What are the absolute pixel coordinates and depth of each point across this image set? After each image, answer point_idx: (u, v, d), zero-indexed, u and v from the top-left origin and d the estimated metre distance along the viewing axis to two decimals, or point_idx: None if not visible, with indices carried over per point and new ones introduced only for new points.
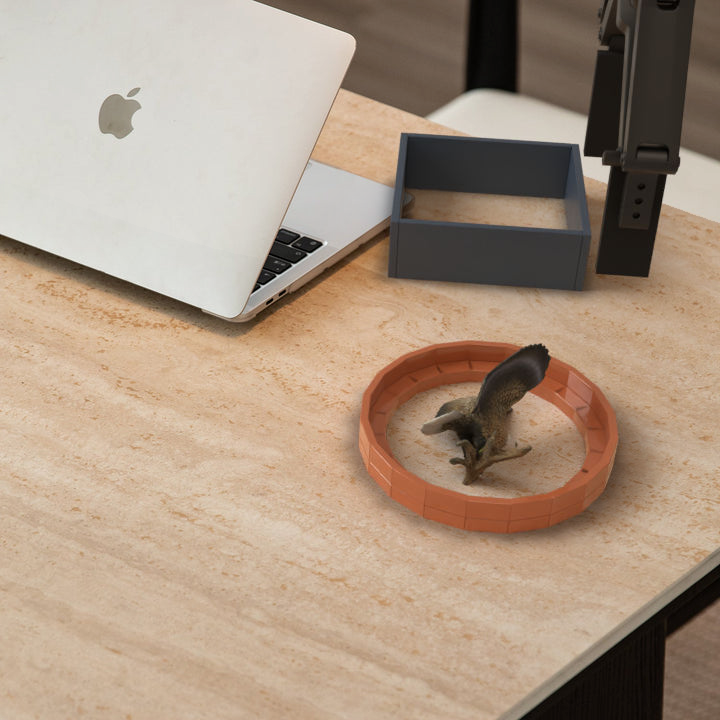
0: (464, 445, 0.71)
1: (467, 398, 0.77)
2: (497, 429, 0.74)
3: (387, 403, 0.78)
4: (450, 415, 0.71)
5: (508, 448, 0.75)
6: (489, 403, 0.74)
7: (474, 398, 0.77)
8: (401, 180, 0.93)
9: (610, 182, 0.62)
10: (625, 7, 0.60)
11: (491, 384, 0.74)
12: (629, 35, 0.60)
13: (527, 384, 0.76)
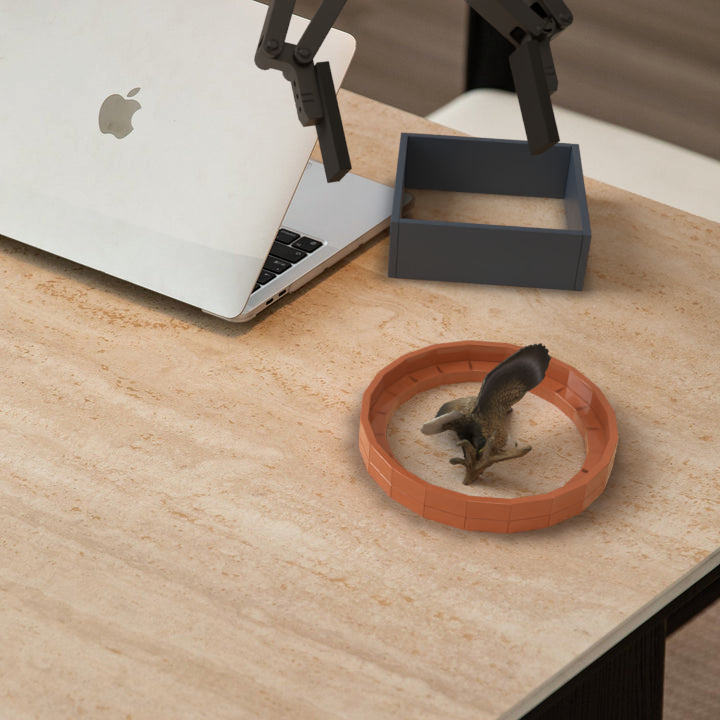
0: (464, 445, 0.71)
1: (467, 398, 0.77)
2: (497, 429, 0.74)
3: (387, 403, 0.78)
4: (450, 415, 0.71)
5: (508, 448, 0.75)
6: (489, 403, 0.74)
7: (474, 398, 0.77)
8: (401, 180, 0.93)
9: None
10: None
11: (491, 384, 0.74)
12: None
13: (527, 384, 0.76)
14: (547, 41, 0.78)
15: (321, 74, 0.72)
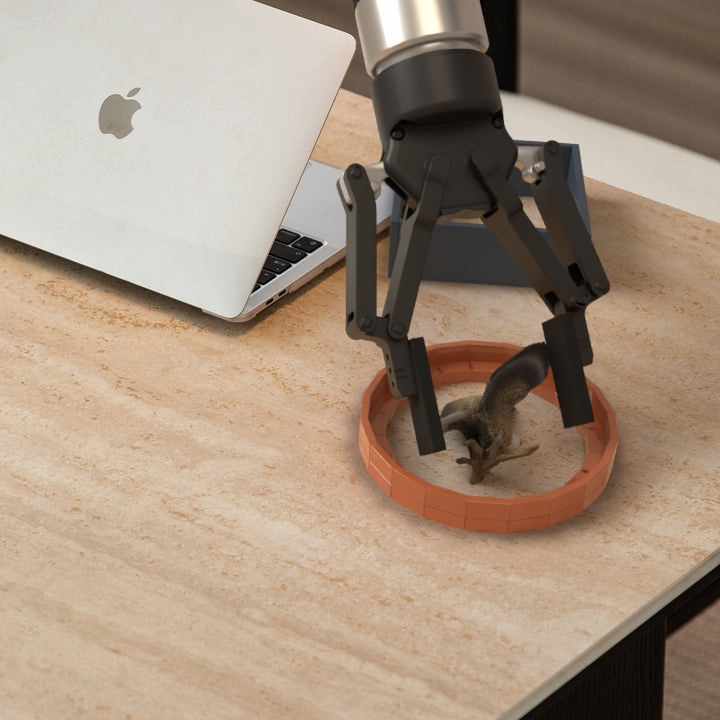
0: (471, 445, 0.71)
1: (471, 397, 0.77)
2: (502, 428, 0.74)
3: (387, 403, 0.78)
4: (456, 415, 0.71)
5: (513, 447, 0.75)
6: (494, 403, 0.74)
7: (477, 397, 0.77)
8: None
9: None
10: (403, 222, 0.74)
11: (496, 383, 0.74)
12: (400, 242, 0.73)
13: (531, 383, 0.76)
14: (582, 310, 0.74)
15: (415, 351, 0.70)
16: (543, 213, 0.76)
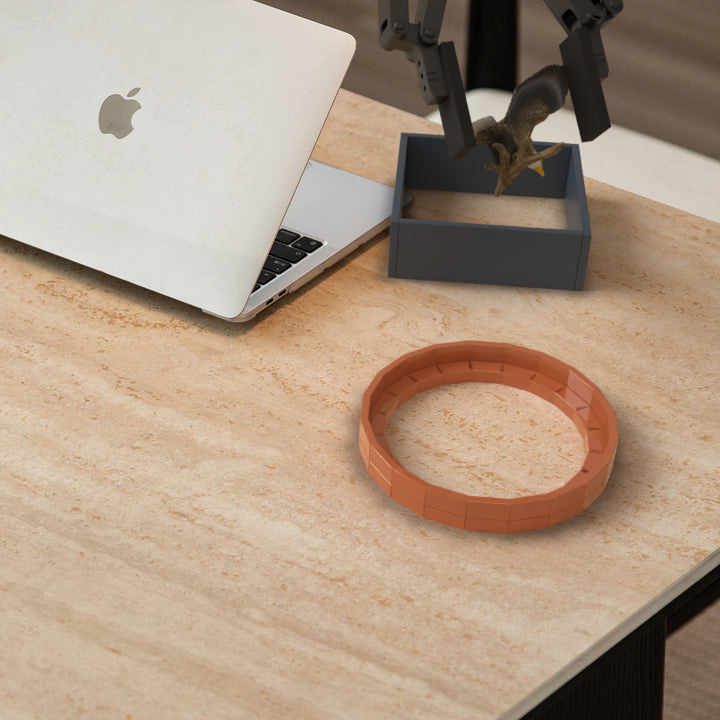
0: (499, 148, 0.75)
1: None
2: None
3: (387, 403, 0.78)
4: (486, 119, 0.75)
5: (535, 164, 0.79)
6: (517, 119, 0.78)
7: None
8: (401, 180, 0.93)
9: None
10: None
11: (519, 100, 0.78)
12: None
13: (550, 107, 0.80)
14: (598, 28, 0.78)
15: (446, 53, 0.74)
16: None
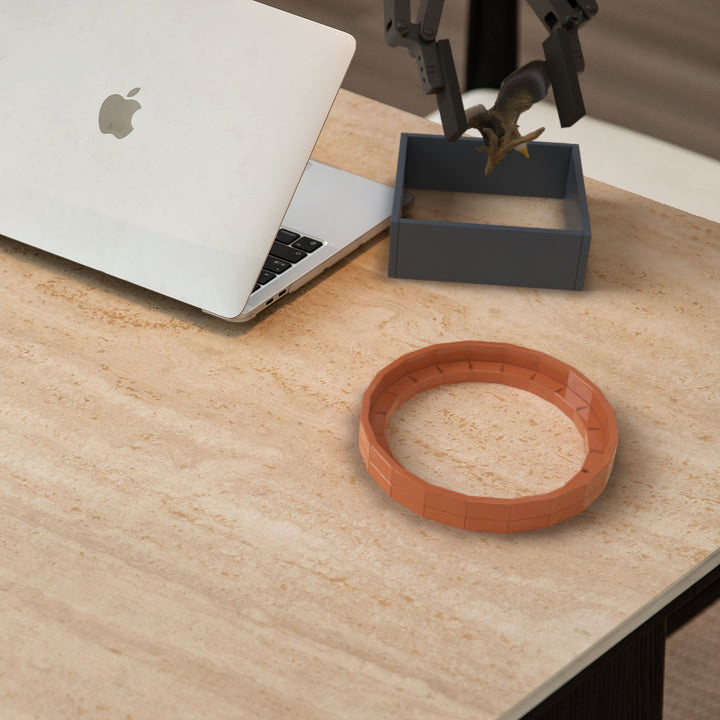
0: (488, 132, 0.87)
1: None
2: None
3: (387, 403, 0.78)
4: (477, 107, 0.87)
5: (521, 147, 0.91)
6: (505, 107, 0.90)
7: None
8: (401, 180, 0.93)
9: None
10: None
11: (507, 91, 0.90)
12: None
13: (534, 97, 0.92)
14: (575, 28, 0.89)
15: (442, 49, 0.85)
16: None
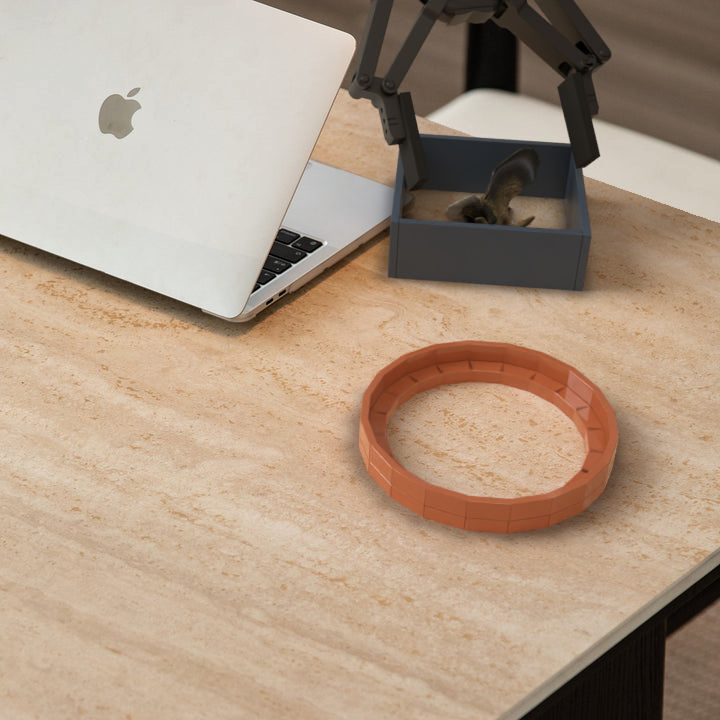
0: (481, 221, 0.91)
1: (476, 196, 0.97)
2: None
3: (387, 403, 0.78)
4: (469, 198, 0.91)
5: None
6: (496, 194, 0.94)
7: (482, 196, 0.97)
8: (401, 180, 0.93)
9: None
10: (416, 18, 0.92)
11: (497, 178, 0.94)
12: (409, 32, 0.92)
13: (523, 181, 0.96)
14: (590, 73, 0.93)
15: (404, 102, 0.88)
16: (544, 9, 0.94)
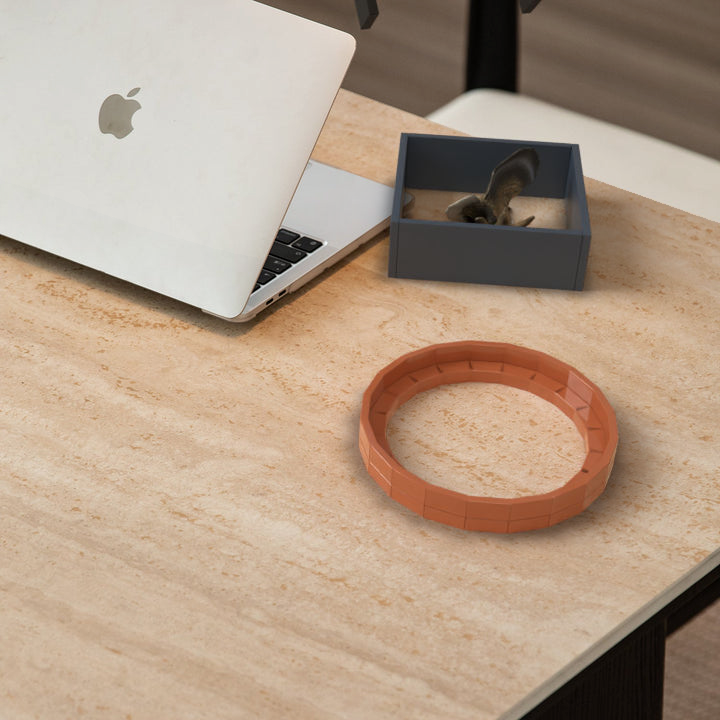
0: (481, 221, 0.91)
1: (476, 196, 0.97)
2: None
3: (387, 403, 0.78)
4: (469, 198, 0.91)
5: None
6: (496, 194, 0.94)
7: (482, 196, 0.97)
8: (401, 180, 0.93)
9: None
10: None
11: (497, 179, 0.94)
12: None
13: (523, 181, 0.96)
14: None
15: None
16: None
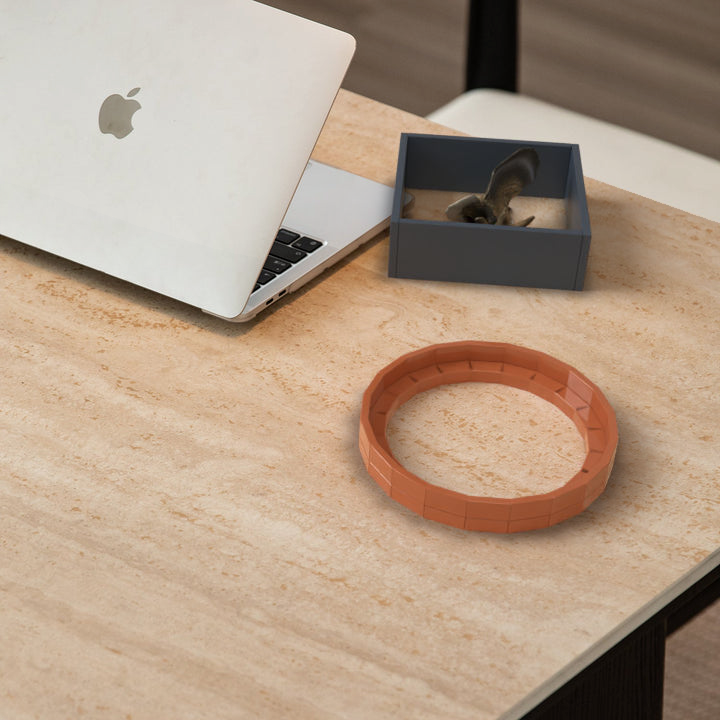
0: (481, 220, 0.91)
1: (476, 196, 0.97)
2: None
3: (387, 403, 0.78)
4: (469, 198, 0.91)
5: None
6: (496, 194, 0.94)
7: (482, 196, 0.97)
8: (401, 180, 0.93)
9: None
10: None
11: (497, 179, 0.94)
12: None
13: (523, 181, 0.96)
14: None
15: None
16: None
